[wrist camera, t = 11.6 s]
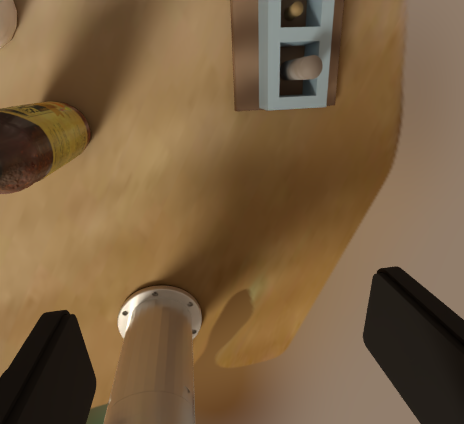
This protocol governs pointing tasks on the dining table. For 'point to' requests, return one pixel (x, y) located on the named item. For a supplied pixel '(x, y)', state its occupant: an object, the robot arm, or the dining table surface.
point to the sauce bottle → (38, 142)
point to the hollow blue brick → (311, 37)
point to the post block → (291, 57)
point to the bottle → (7, 21)
